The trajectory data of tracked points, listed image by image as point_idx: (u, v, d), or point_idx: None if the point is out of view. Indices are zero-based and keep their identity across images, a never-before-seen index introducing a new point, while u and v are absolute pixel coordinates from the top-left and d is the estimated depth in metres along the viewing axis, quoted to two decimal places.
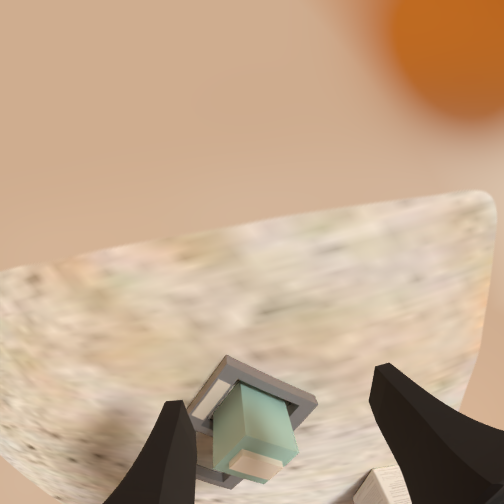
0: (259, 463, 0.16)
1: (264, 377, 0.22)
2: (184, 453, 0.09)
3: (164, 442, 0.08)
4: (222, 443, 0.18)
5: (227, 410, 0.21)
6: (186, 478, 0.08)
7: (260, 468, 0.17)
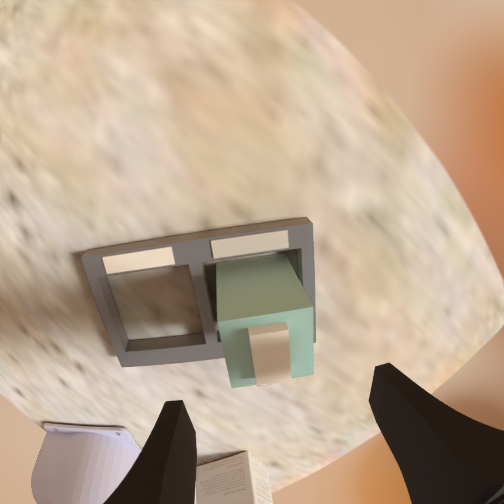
0: (284, 355, 0.13)
1: None
2: (184, 453, 0.09)
3: (164, 442, 0.08)
4: (246, 300, 0.14)
5: (257, 270, 0.17)
6: (186, 478, 0.08)
7: (275, 363, 0.13)
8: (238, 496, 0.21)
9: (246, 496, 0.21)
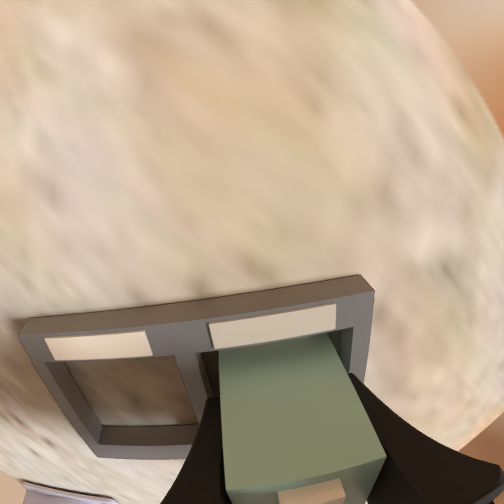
0: None
1: None
2: None
3: (214, 439, 0.08)
4: (273, 440, 0.07)
5: (285, 368, 0.10)
6: None
7: None
8: None
9: None
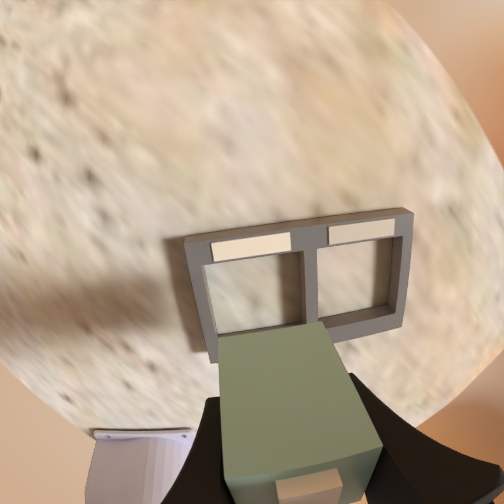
0: None
1: None
2: None
3: (214, 439, 0.08)
4: (271, 429, 0.08)
5: (283, 360, 0.10)
6: None
7: None
8: None
9: None
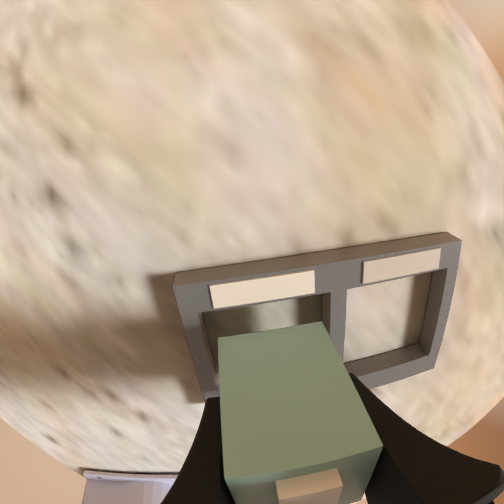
0: None
1: None
2: None
3: (214, 439, 0.08)
4: (271, 429, 0.08)
5: (283, 360, 0.10)
6: None
7: None
8: None
9: None
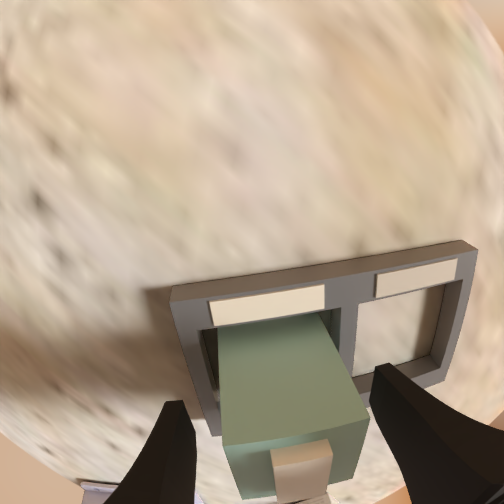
0: (321, 477, 0.07)
1: None
2: (184, 453, 0.09)
3: (164, 442, 0.08)
4: (267, 402, 0.09)
5: (278, 341, 0.11)
6: (186, 478, 0.08)
7: (307, 485, 0.08)
8: None
9: None
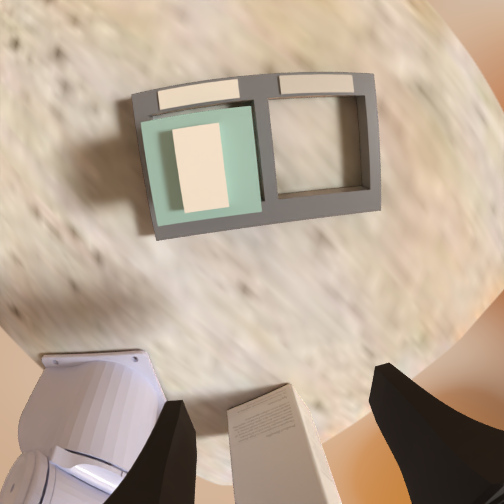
0: (216, 161, 0.11)
1: None
2: (184, 453, 0.09)
3: (164, 442, 0.08)
4: None
5: None
6: (186, 478, 0.08)
7: (205, 173, 0.11)
8: (286, 435, 0.19)
9: (297, 434, 0.19)
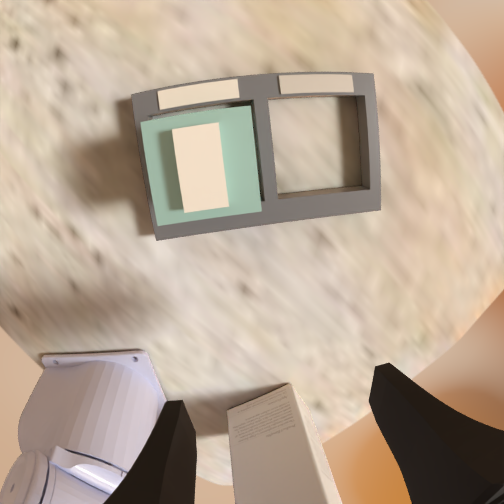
0: (215, 161, 0.11)
1: None
2: (184, 453, 0.09)
3: (164, 442, 0.08)
4: None
5: None
6: (186, 478, 0.08)
7: (205, 173, 0.11)
8: (286, 435, 0.19)
9: (297, 434, 0.19)
